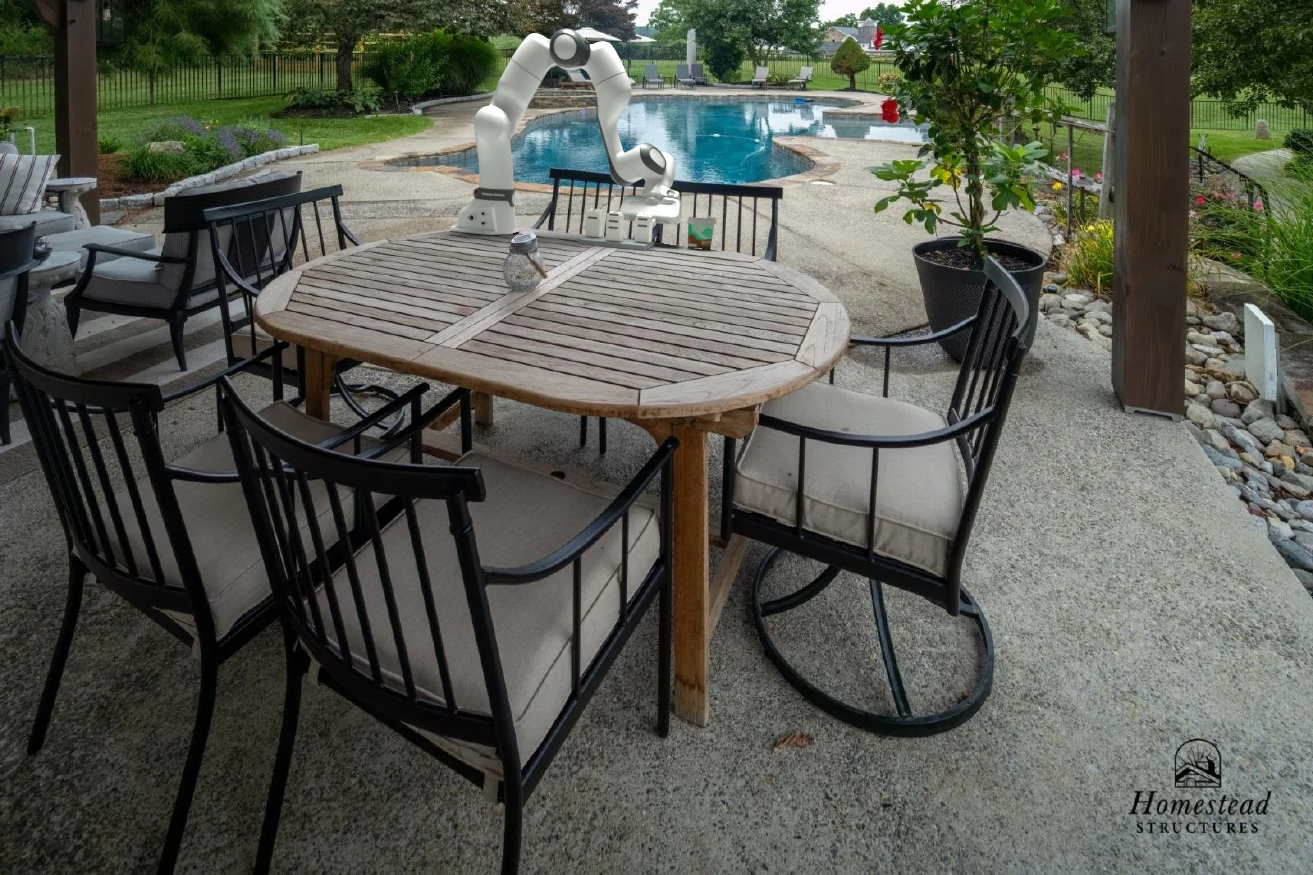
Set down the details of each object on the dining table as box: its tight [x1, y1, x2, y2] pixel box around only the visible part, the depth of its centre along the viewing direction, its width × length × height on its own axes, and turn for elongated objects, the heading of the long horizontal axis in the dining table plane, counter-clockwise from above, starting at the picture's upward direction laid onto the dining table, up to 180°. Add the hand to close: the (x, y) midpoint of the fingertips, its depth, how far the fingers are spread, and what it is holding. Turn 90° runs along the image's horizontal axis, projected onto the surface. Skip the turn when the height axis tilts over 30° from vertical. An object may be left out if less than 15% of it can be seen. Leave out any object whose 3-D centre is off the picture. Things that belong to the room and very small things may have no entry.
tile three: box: [605, 210, 625, 241], centre depth 238 cm, size 5×3×9 cm
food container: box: [686, 215, 717, 250], centre depth 245 cm, size 12×6×10 cm, turn 143°
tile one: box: [584, 207, 604, 237], centre depth 244 cm, size 5×3×9 cm
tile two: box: [634, 213, 653, 243], centre depth 239 cm, size 5×3×9 cm
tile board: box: [577, 235, 655, 252], centre depth 242 cm, size 22×12×2 cm, turn 76°
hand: (645, 230), depth 242 cm, fingers closed, pressing on tile two
